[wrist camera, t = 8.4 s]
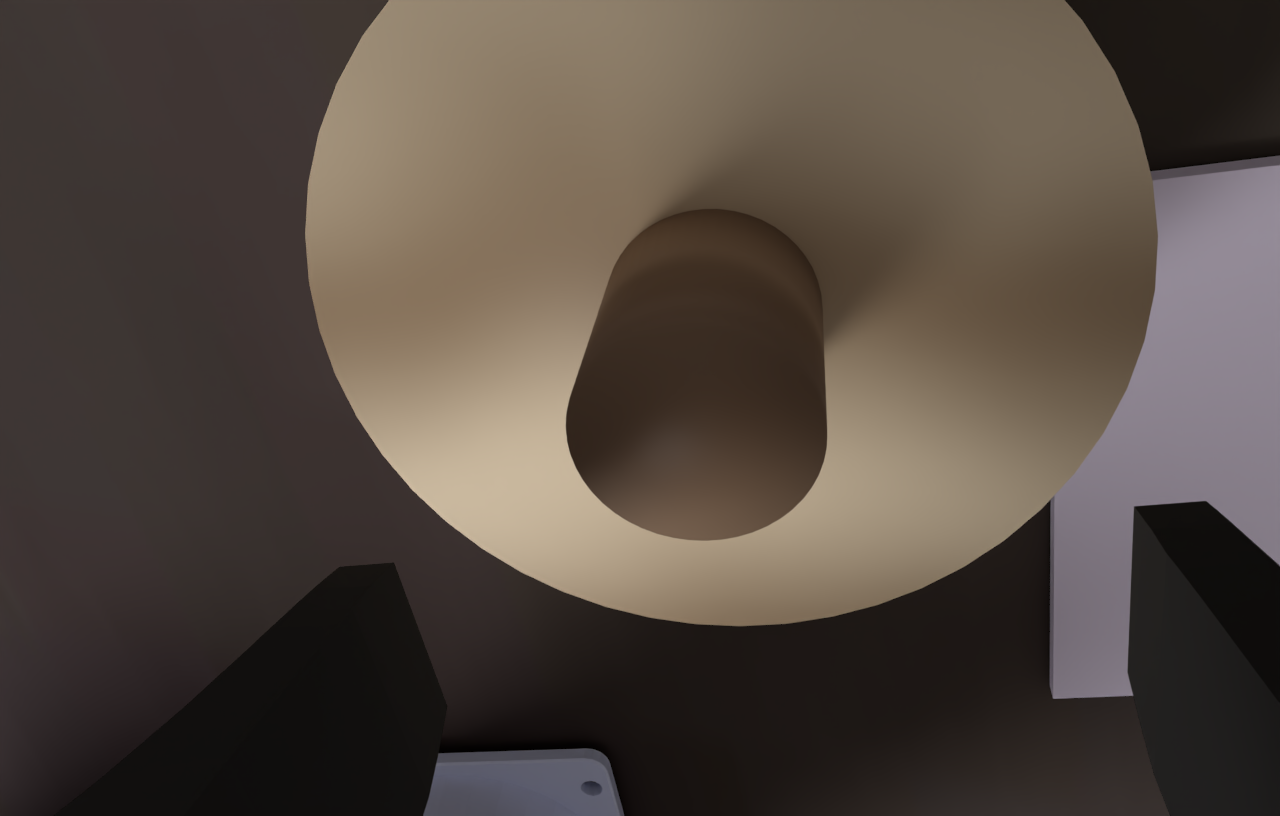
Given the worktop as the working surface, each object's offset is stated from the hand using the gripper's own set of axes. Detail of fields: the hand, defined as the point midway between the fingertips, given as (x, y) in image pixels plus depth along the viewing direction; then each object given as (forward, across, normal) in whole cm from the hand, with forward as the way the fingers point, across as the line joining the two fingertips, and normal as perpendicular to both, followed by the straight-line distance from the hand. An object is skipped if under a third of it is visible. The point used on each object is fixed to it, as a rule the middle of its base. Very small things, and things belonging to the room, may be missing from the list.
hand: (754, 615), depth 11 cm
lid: (+6, 0, -1) cm, 6 cm away
